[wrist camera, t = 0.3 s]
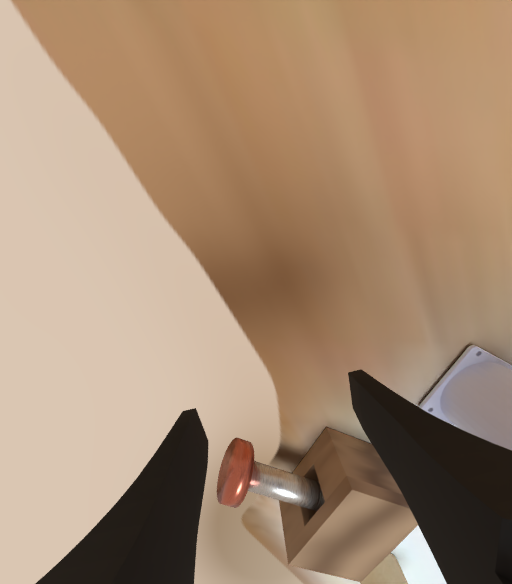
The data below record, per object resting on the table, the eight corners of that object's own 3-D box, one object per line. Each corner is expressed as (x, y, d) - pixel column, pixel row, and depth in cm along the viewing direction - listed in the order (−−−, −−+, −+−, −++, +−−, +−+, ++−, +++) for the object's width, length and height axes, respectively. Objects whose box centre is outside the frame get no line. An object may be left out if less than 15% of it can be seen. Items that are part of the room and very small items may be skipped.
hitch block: (388, 450, 27) (428, 514, 21) (337, 510, 30) (361, 582, 24) (326, 426, 25) (352, 489, 20) (278, 492, 28) (288, 564, 22)
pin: (347, 463, 26) (370, 517, 22) (322, 494, 27) (340, 550, 23) (241, 426, 24) (241, 477, 19) (218, 461, 25) (214, 518, 20)
